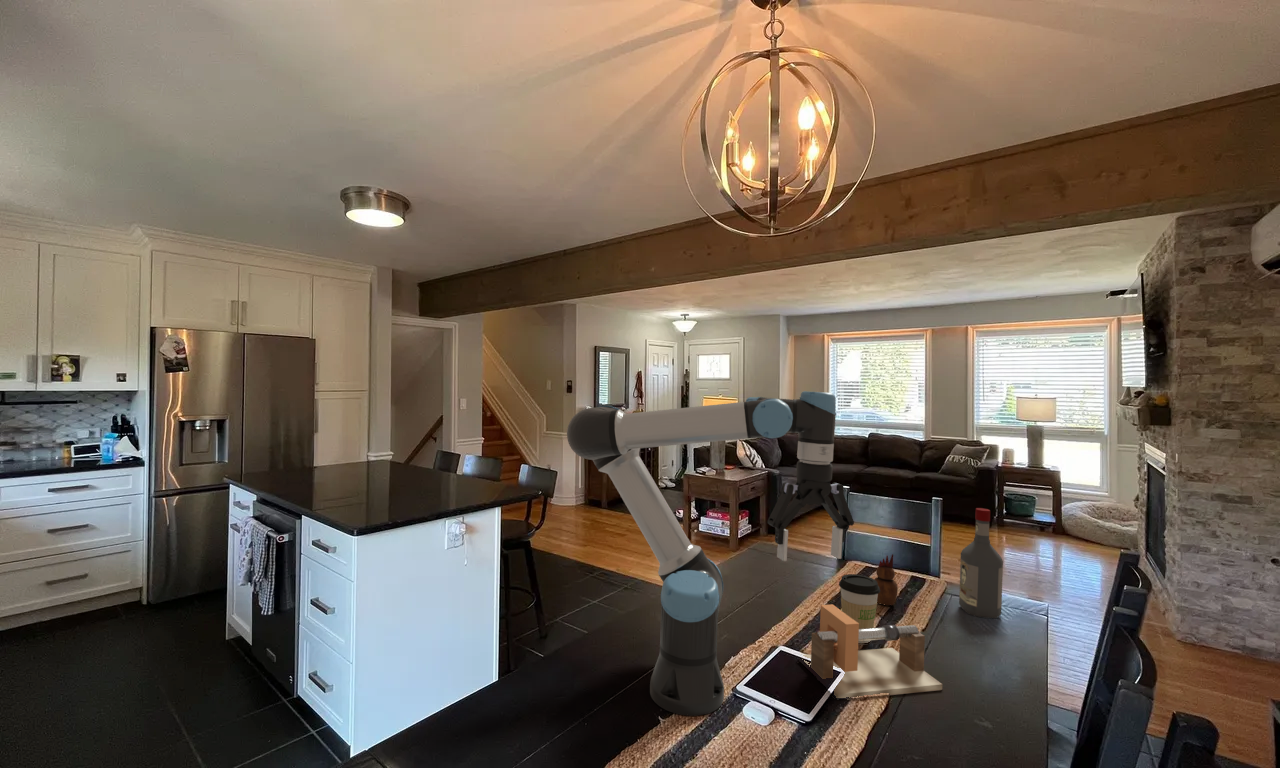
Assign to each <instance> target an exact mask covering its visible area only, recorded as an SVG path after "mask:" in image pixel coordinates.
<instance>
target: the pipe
mask: <svg viewBox="0 0 1280 768" xmlns="http://www.w3.org/2000/svg"><path fill="white" fill-rule="evenodd" d="M919 632H920V631H919V629H918V627H917V626H916V625H913V624H912V625H911V624H910V625H899V626H896V625H895V624H886V625H882V626H881V627H873V628H867V629H859V638H858V641H867V640H871V641H878V640H884V641H886V642H891V641H899V640H900V638H907V637H911V634H917V633H919ZM816 633H817V632H816ZM817 636H818V637H819V638H821V639H822V640H831V641H833V642H834V643H837V640H838V632H837V631H825V632H820V631H818V633H817Z"/></svg>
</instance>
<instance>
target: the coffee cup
mask: <svg viewBox="0 0 1280 768" xmlns="http://www.w3.org/2000/svg"><path fill="white" fill-rule="evenodd" d="M874 579H875V578H873V577H871V576H870V577H869V576H866V575H863V574H862V575H861V574H856V573H855V574H854V573H851V574H847V573H846V574H844V575H842V576H841V579H840V581H839V582H838V586H839V587H840V592H841V593H840V602H841V604H840V605H841V611H842V612H844V613H845V614H846V615H848V616H849V617H851V618H852V619H853V620H855V621H856V622H857V623H859V629H867V628H875V627H874V625H875V619H876V613H877V607H878V603H877V597H878V593H880V588H879V586H878V583H877V581H876V580H874ZM870 641H871V642H872V640H867V641H858V643H868V642H870ZM871 642H870V643H871Z"/></svg>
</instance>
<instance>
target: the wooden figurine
mask: <svg viewBox="0 0 1280 768" xmlns="http://www.w3.org/2000/svg"><path fill="white" fill-rule="evenodd" d="M893 567H894V554H891V556H890V559H889V555H886V557H885V558H882V560H880V561H879V564H878V566H877V568H876V575H877V577H875V578H873V579H874V580H876V581H877V583H878V586H879V588H880V593H878V597H877V602H878V603H877V604H879V603H881V604H885V605H891V606H894V604H895V602H896V601H897V598H898V589H899V587H898V584H897V581H895V580H894V578H895V575H896V574H895V570H894V568H893ZM881 604H880V605H881Z"/></svg>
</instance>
